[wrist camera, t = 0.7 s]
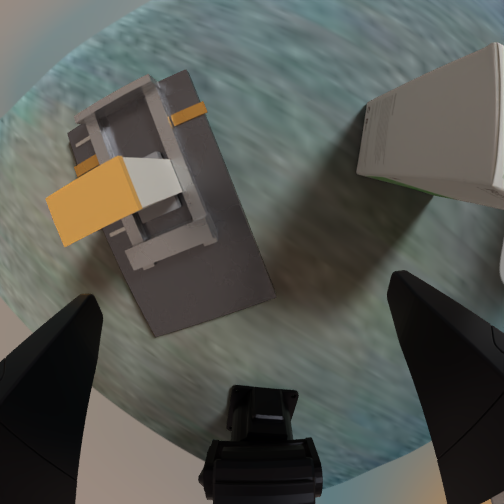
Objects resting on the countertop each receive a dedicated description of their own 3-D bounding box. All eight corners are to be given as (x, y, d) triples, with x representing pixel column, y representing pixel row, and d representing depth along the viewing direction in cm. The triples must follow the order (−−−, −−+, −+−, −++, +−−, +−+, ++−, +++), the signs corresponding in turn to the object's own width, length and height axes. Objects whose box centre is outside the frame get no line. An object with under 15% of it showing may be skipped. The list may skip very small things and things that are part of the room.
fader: (191, 202, 23) (147, 229, 13) (138, 224, 23) (72, 264, 14) (169, 147, 22) (110, 137, 12) (117, 172, 22) (39, 182, 12)
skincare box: (353, 173, 24) (482, 190, 8) (365, 95, 22) (490, 30, 7) (437, 197, 24) (578, 238, 9) (448, 126, 22) (588, 116, 7)
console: (278, 290, 26) (282, 309, 23) (156, 331, 27) (145, 352, 24) (192, 72, 21) (183, 57, 18) (71, 135, 23) (48, 133, 19)
